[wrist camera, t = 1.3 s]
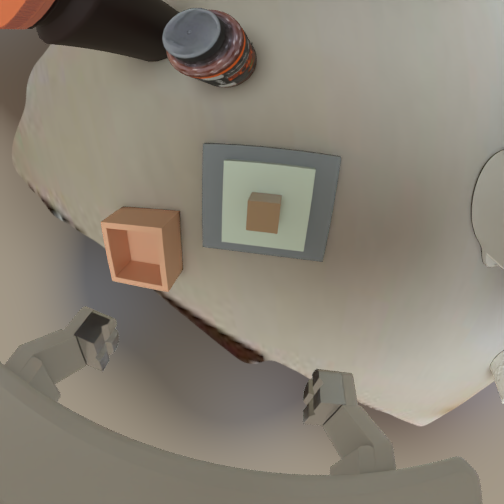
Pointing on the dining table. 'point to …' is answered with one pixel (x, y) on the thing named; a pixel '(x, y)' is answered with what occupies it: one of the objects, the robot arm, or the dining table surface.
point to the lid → (266, 203)
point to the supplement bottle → (209, 47)
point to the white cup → (499, 373)
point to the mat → (322, 163)
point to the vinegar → (94, 24)
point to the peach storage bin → (144, 247)
